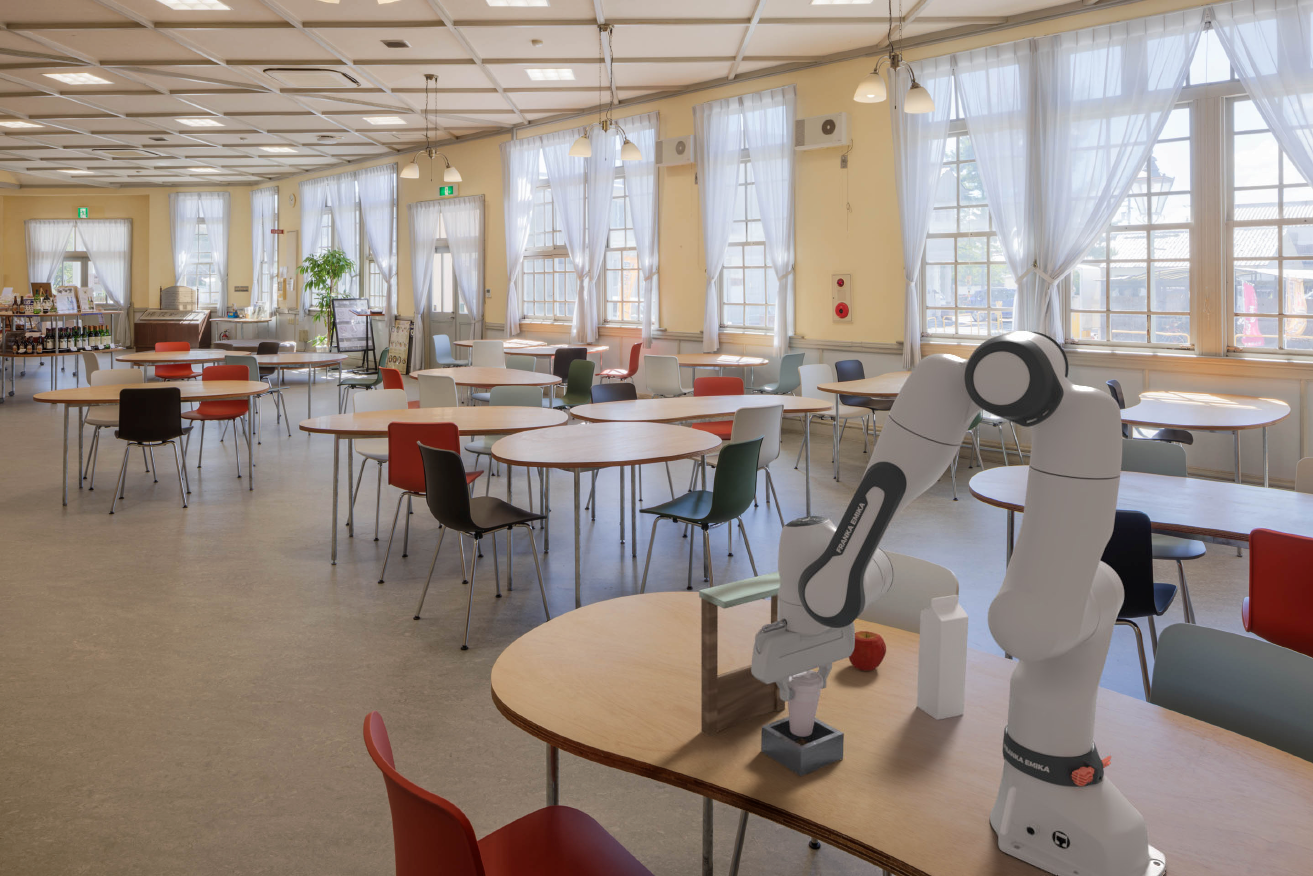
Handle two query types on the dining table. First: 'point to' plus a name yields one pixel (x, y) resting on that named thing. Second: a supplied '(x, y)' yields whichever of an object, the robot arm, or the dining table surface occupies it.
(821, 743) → the socket
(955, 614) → the milk
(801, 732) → the smoothie
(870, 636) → the apple
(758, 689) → the green-topped frame
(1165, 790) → the dining table surface
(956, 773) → the dining table surface
